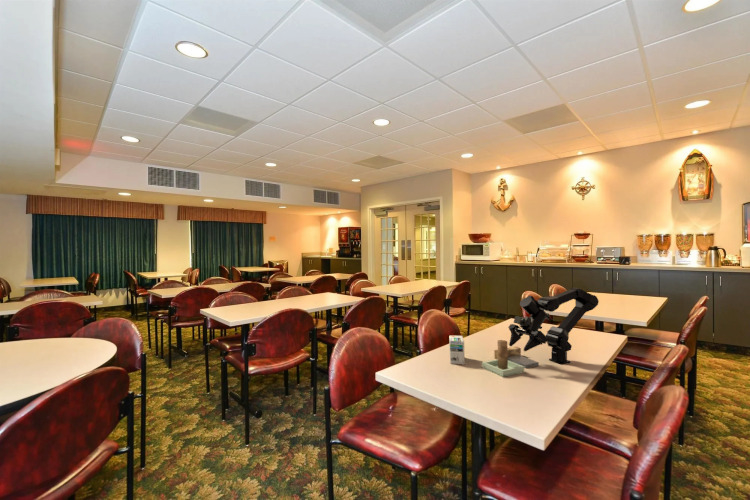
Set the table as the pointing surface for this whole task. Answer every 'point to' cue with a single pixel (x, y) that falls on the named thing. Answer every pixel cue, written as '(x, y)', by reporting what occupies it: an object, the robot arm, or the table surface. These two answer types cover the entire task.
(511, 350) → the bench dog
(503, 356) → the walnut dowel
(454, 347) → the light bulb box
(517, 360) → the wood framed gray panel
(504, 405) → the table surface
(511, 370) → the tray
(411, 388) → the table surface
